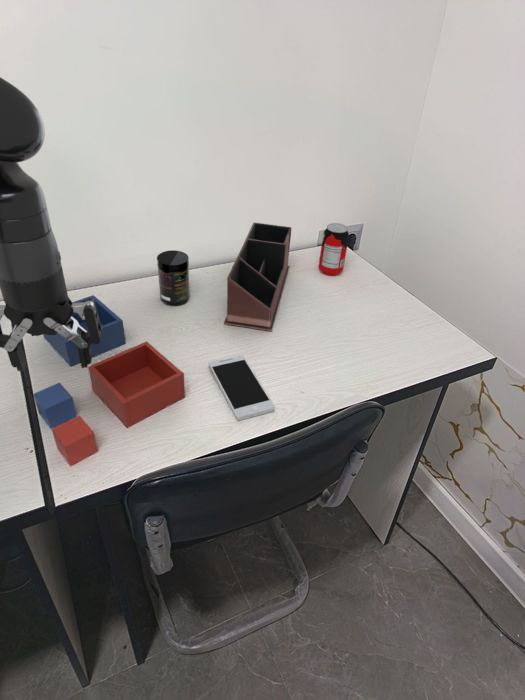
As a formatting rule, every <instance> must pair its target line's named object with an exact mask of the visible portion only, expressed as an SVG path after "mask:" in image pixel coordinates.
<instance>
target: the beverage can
mask: <svg viewBox="0 0 525 700" xmlns="http://www.w3.org/2000/svg"><path fill="white" fill-rule="evenodd" d="M348 230H349V228H348V226H346V225H345V224H343V223H337V222H333V223H329V224H327V225H326V228H325V229H324V231H323V233H322V240H321V247H320V252H319V261H318V270H319V271H321V273H322V274H323V275H327V276H333V277H334V276H337V275H340V274H341V273H342V272H343V271H344V266H345V262H346V255H347V251H348V244H349V240H350V239H349V238H350V234H349V231H348Z"/></svg>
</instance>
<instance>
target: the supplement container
mask: <svg viewBox="0 0 525 700" xmlns="http://www.w3.org/2000/svg"><path fill="white" fill-rule="evenodd" d="M189 260H190V258H189V255H188V253H186V252H184V251H180V250H166V251H165V250H164V251H162V252H160V253H159V254H157V256H156V263H157V265H156V266H157V274H158V289H159V298H160V300H161V302H163V303H164V304H165V305H168V306H173V307H174V306H175V307H176V306H181V305H183V304H186V303H187V302H188V301H189V299H190V298H191V297H190V295H191V293H190V291H191V290H190V261H189Z"/></svg>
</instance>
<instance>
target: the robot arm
mask: <svg viewBox="0 0 525 700" xmlns="http://www.w3.org/2000/svg"><path fill="white" fill-rule="evenodd" d="M45 133H46V131H45V125H44V121H43V118H42V115H41V113H40V111H39V109H38V108H37V106H36V105H35V104H34V102H33V101H32V100H31V99H30V98H29V96H27V95H26V94H25V93H24V92H23V91H21V90H20V89H19V88H18V87H17V86H15V85H14V84H12V83H10V82H9V81H7V80H6V79H4V78H2V77H1V76H0V292H1V296H2V299H3V302H4V304H0V321H1V320H2V318H3V316H4V317H5V318H6V319H8V320H9V321H10V322H12V323H13V324H14V327H13V328H12V330H11V331H10V333H9V334H4V332H3V330H2V325H1V324H0V348H1V349H3V350H5V351H6V352H7V356H8V359H9V362H10V365H11V366H12V367H13V368H16V370H17V372H24V371H25V368H26V365H27V359H26V355H25V352H24V349H23V344H22V342H21V341H22V340H23V338H24V336H26V334H29V335H31V337H38V336H43V334H45V335H56V334H57V333H59V334H60V335H61V336H63V337H64V338H65V339H67V340H71V341H73V342H74V343H75V344H76V345H78V353H79V358H80V363H79V364H80V367H81V368H82V369H85V368H87V369H88V366H89V365H91V363H92V359H93V357H92V351H91V346H90V344H92V343H94V344H99V343H100V340H101V334H102V328H101V324H100V320H99V316H98V312H97V308H96V304H95V301H94V299H92V298H88V299H86V301H85V302H81V303H73V302H74V301H73V300H71V299H70V297H69V294H68V289H67V285H66V280H65V275H64V269H63V265H62V257H61V256H62V255H61V252H60V251H59V247H58V243H57V240H56V237H55V235H54V232H53V229H52V225H51V219H50V216H49V215H50V214H49V210H48V206H47V201H46V197H45V193H44V190H43V188H42V185H40V183H39V181H37V180H36V179H35V178H33V177H32V176H31V175H30V174H29V173H27V172H26V171H25V170H23V168H22V167H21V166H20V164H19V163H22V162H25V161H29V160H30V159H32V158H34V157H35V156H36V155H37V154H38V153H39V152H40V150H41V149H42V147H43V145H44V141H45ZM73 313H78V314H79V316H80V317H81V318H82V319H83V320H86V323H87V327H88V332H87V331H86V330H85V329H84V328H82V327H81V326H80V325H79V323H78V321H77V320H76V319H74V318H73V317H72V315H73ZM65 325H67V327H66V326H65Z"/></svg>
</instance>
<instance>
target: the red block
mask: <svg viewBox="0 0 525 700" xmlns="http://www.w3.org/2000/svg"><path fill="white" fill-rule="evenodd" d="M51 432H52V435H53V438H54V442H55V446H56V449H57V450H58V452H59V453H60V455H61V456H62V457H63V458H64V459H65V461H66V462H67V464H68V465H69V466H70V467H72V466H74V465H76V464H78V463H79V462H81V461H84V460H85V459H87V458H89V457H90V456H92V455H94V454H97V453H98V452H99V449H98V446H97V441H96V437H95V432H94V430H93V429H92V428H91V427H90V425H88V423H87V422H86V421H85V420H84V419H83V417H82V416H81V415H77V416H76V417H74V418H72V419H70V420H68V421H66V422H64V423H62V424H60V425H58V426H56V427H54V428H52V429H51Z"/></svg>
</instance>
